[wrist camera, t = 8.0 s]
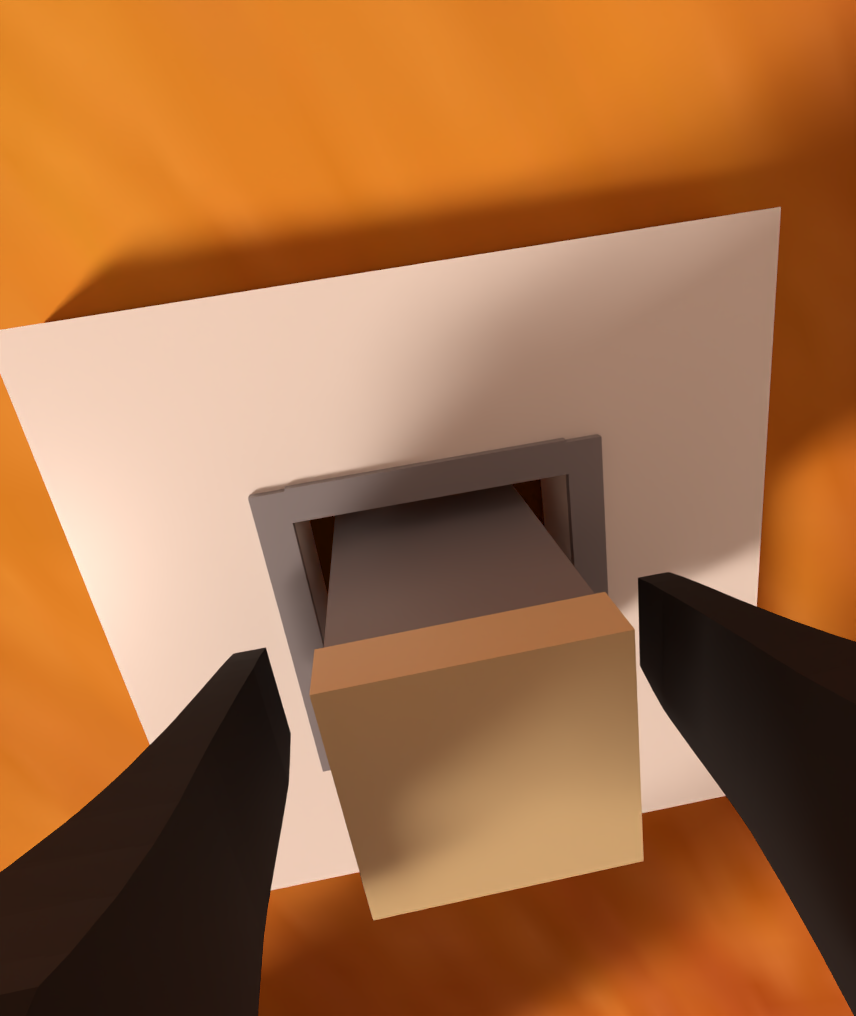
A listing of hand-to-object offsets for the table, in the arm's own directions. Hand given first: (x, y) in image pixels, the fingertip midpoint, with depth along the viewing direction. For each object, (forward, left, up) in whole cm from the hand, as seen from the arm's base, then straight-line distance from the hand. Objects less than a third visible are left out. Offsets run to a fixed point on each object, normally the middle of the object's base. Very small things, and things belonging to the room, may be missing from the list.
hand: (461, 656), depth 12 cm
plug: (0, 0, -4) cm, 4 cm away
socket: (0, 0, -4) cm, 4 cm away
